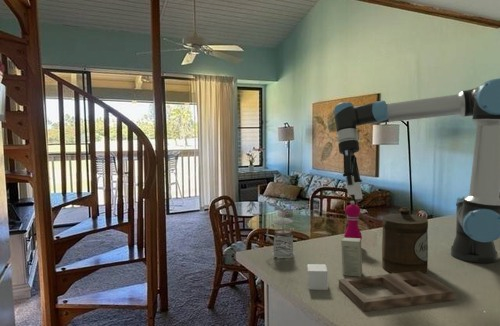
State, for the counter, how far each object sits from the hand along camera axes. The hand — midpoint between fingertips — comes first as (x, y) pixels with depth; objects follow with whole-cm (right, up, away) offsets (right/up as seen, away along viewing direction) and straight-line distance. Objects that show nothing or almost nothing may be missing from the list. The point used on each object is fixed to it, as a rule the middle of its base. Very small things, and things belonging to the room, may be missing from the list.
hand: (355, 197), depth 130 cm
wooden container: (+16, -25, -5) cm, 30 cm away
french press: (-26, -25, +14) cm, 39 cm away
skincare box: (-4, -26, -8) cm, 28 cm away
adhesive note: (-17, -27, -17) cm, 36 cm away
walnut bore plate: (+4, -27, -24) cm, 36 cm away
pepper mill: (+5, -24, +21) cm, 32 cm away
